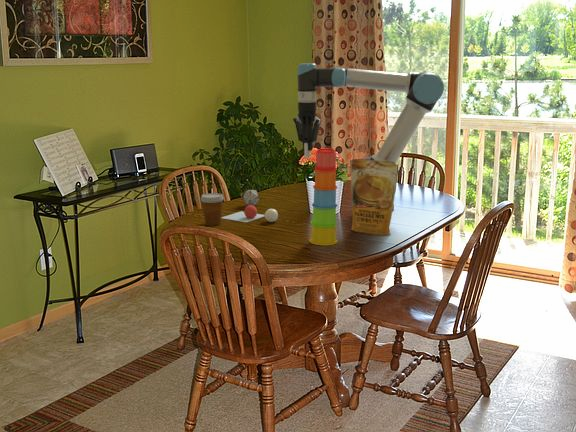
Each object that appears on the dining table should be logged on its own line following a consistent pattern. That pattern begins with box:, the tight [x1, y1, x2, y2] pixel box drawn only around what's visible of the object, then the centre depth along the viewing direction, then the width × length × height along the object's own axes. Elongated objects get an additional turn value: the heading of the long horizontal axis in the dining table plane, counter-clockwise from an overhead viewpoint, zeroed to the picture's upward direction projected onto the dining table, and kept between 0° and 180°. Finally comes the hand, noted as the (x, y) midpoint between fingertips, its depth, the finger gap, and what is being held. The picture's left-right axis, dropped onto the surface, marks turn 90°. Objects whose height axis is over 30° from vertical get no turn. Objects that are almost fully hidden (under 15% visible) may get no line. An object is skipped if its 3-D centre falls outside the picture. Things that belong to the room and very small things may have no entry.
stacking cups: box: [309, 147, 338, 247], centre depth 258 cm, size 10×10×35 cm
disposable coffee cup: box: [200, 192, 225, 227], centre depth 290 cm, size 10×10×12 cm
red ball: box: [243, 205, 258, 218], centre depth 299 cm, size 6×6×6 cm
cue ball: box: [264, 208, 279, 223], centre depth 292 cm, size 6×6×6 cm
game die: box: [241, 188, 262, 208], centre depth 321 cm, size 9×8×10 cm
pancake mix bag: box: [349, 158, 399, 237], centre depth 271 cm, size 7×19×28 cm, turn 58°
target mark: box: [221, 210, 265, 223], centre depth 302 cm, size 14×14×1 cm
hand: (307, 158), depth 299 cm, fingers closed
